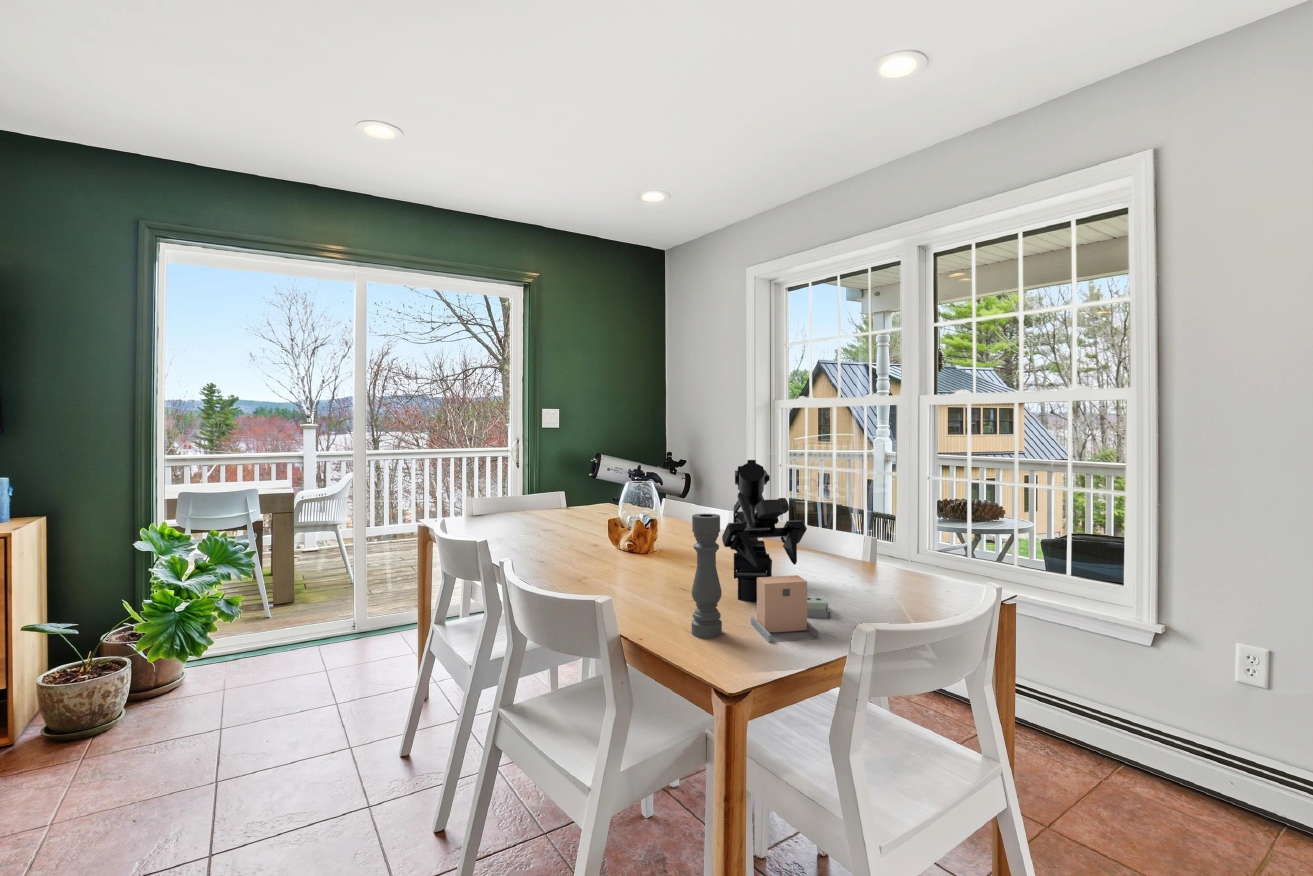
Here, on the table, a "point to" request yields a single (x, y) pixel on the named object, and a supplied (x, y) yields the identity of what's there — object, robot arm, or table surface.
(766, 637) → the grey tray
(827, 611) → the button bezel
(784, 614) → the salmon pink box
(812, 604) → the sage button
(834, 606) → the table surface
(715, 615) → the candle holder
